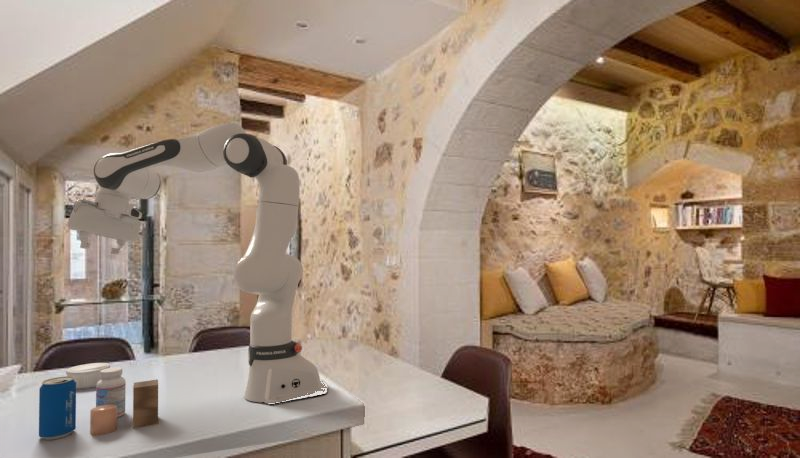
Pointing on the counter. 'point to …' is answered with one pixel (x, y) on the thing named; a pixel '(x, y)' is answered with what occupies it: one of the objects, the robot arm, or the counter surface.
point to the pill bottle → (111, 389)
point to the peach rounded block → (103, 419)
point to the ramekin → (86, 374)
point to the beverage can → (57, 407)
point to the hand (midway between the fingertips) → (99, 251)
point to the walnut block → (145, 403)
